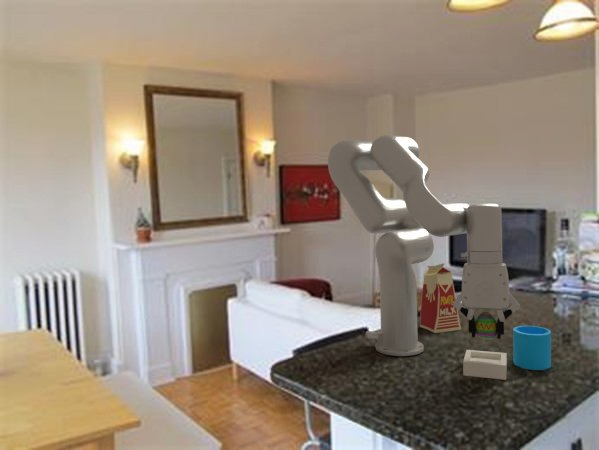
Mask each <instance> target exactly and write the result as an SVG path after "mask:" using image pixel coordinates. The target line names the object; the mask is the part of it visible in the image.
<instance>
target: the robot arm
mask: <svg viewBox="0 0 599 450" xmlns="http://www.w3.org/2000/svg"><path fill="white" fill-rule="evenodd" d="M419 157H420V149H419V145H418V143H417V142H416V141H415V140H414V139H413V138H411V137H410V136H405V135H404V136H403V135H395V134H394V135H392V134H387V135H386V134H385V135H382V136H379V137H377V138H375V139H374V140H367V139H365V140H363V139H345V140H339V141H338V142H337V143H335V144H333V146H331V149H330V150H329V153H328V158H327V159H328V160H327V166H328V173H329V175H330V178H331V180H332V182H333V184H334V185H335V187H336V188H337V189H338V191H339V192H340V193H341V195H342V196H343V197H344V199H345V200H346V201H347V203H348V205H349V206H350V207H351V209H352V211H353V213H354V214H355V216H356V217H357V219H358V220H359V221H360V223H361V225H362V227H363V228H364V229H365V230H366V231H367V232H368V233H371V234H375V235H376V234H382V235H381V236H379V238H378V239H377V241H376V244H375V249H374V250H375V251H374V253H375V258H376V263H377V268H378V275H379V277H378V278H379V298H380V299H379V302H380V303H379V304H380V305H379V306H380V330H378V331H371V330H370V331H368V330H367V331H365V338H366V339H367V340H368V341H376V343H375V346H374V347H375V350H376V351H377V352H378V353H380V354H383V355H387V356H393V357H411V356H415V355H419V354H421V353H422V352H424V350H425V349H424V347H425V346H424V344H423V343H422V342H421V341H418V340H419V337H418V334H419V333H418V290H417V288H418V285H417V278H416V275H415V273H414V270H413V266H412V265H414V264H419V263H423V262H425V261H427V260H428V259H430V258H431V256H432V255H433V253H434V245H435V244H434V239H433V237H432V236H434V237H440V238H444V237H451V236H457V235H462V234H466V251H465V252H460V259H461V260H462V259H464V260H466V262H465V263H464V265H463V268H462V277H461V278H462V279H461V292H460V293H459V294H458V296H457V297H456V299H455V301H454V302H453V306H454V307H455V308H457V309H458V311H459V312H460V313H461V314H462V315H463V316H464V317H465V318H466V319H467V320H468V333H469V334H470V333H471V338H475V337H476V335H477V334H476V331H475V323H476V320H477V317H476V316H475V315H474V314H475V311H476V309H478V310H480V309H481V310H495V311H496V313H497V319H496V322H497V335H496V339H498V340H501V339H502V335H503V336H504V335H505V321H506V320H507V319H508V318H509V317H510V316H511V315H513V314H514V313H515V312H517V311H519V310H520V308H521V304H520V302H518V301H517V300H516V298H515V297H514V296H513V294H511V292H510V283H509V281H510V279H509V272H508V267H507V264H506V263H503V224H502V223H503V220H502V219H503V217H502V216H503V215H502V214H503V213H502V207H501V206H500V205H499V204H497V203H473V204H472V203H471V204H470V203H464V202H454V203H453V202H451V203H442V202H441V201H440V200H439V199H438V198H437V197H435V195H433V194H432V193H431V191H430V190H429V189H428V187H427V186H426V183H427V181H428V179H429V177H430V171H429V168H428V166H427V165H425V164H424V163H423V161H422V160H420V159H419ZM361 171H382V172H384V174H386V176H387V177H388V178H389V179H390V180H391V181H392V182H393V183H394V184H395V185H396V186H397V188H399V189H400V190H401V192H402V197H403V199H401V198H398V197H384V196H383V195H381V194H380V192H379V191H378V189H377V188H376V187H375V185H374V184H373V183H372V181H371V180H370V179H369V178H368V177H367V176H365V175H364V174H363V173H362V172H361ZM510 304H511V306H510ZM509 306H510V307H509ZM475 317H476V318H475Z"/></svg>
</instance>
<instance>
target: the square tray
mask: <svg viewBox="0 0 599 450" xmlns="http://www.w3.org/2000/svg"><path fill="white" fill-rule="evenodd" d="M507 355H508V353H507V352H501V351H500V352H499V351H497V352H496V351H487V350H486V351H485V350H473V349H466V351H465V354H464V358H463V362H462V364H463V365H462V369H463V370H462V371H463V372H462V375H463V376H467V377H473V378H474V377H477V378H485V379H486V378H487V379H494V380H496V379H497V380H502V381H503V380H505V381H506V380H507V369H508V357H507Z"/></svg>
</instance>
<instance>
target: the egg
mask: <svg viewBox="0 0 599 450" xmlns="http://www.w3.org/2000/svg"><path fill="white" fill-rule="evenodd" d="M475 331H476V335H477V337H478V338H479V339H482V340H493V339H495V338H496V337H497V319H496V318H495V317H494V315H493V314H492V313H491V312H489V311H483V312H481V313H479V315H478V316H477V317H476V323H475Z"/></svg>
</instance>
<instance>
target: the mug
mask: <svg viewBox="0 0 599 450" xmlns="http://www.w3.org/2000/svg"><path fill="white" fill-rule="evenodd" d="M512 330H513V331H512V332H513V333H512V335H513V337H512V339H513V340H512V342H513V345H512V346H513V348H512V349H513V355H512V356H513V358H512V359H513V360H512V361H513V362H512V363H513V364H514V365H515V366H517V367H519V368H522V369H526V370H534V371H543V370H548V369H550V368H551V367H552V331H551V330H550V329H548V328H546V327H541V326H536V325H519V326H516V327H513V329H512Z"/></svg>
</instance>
